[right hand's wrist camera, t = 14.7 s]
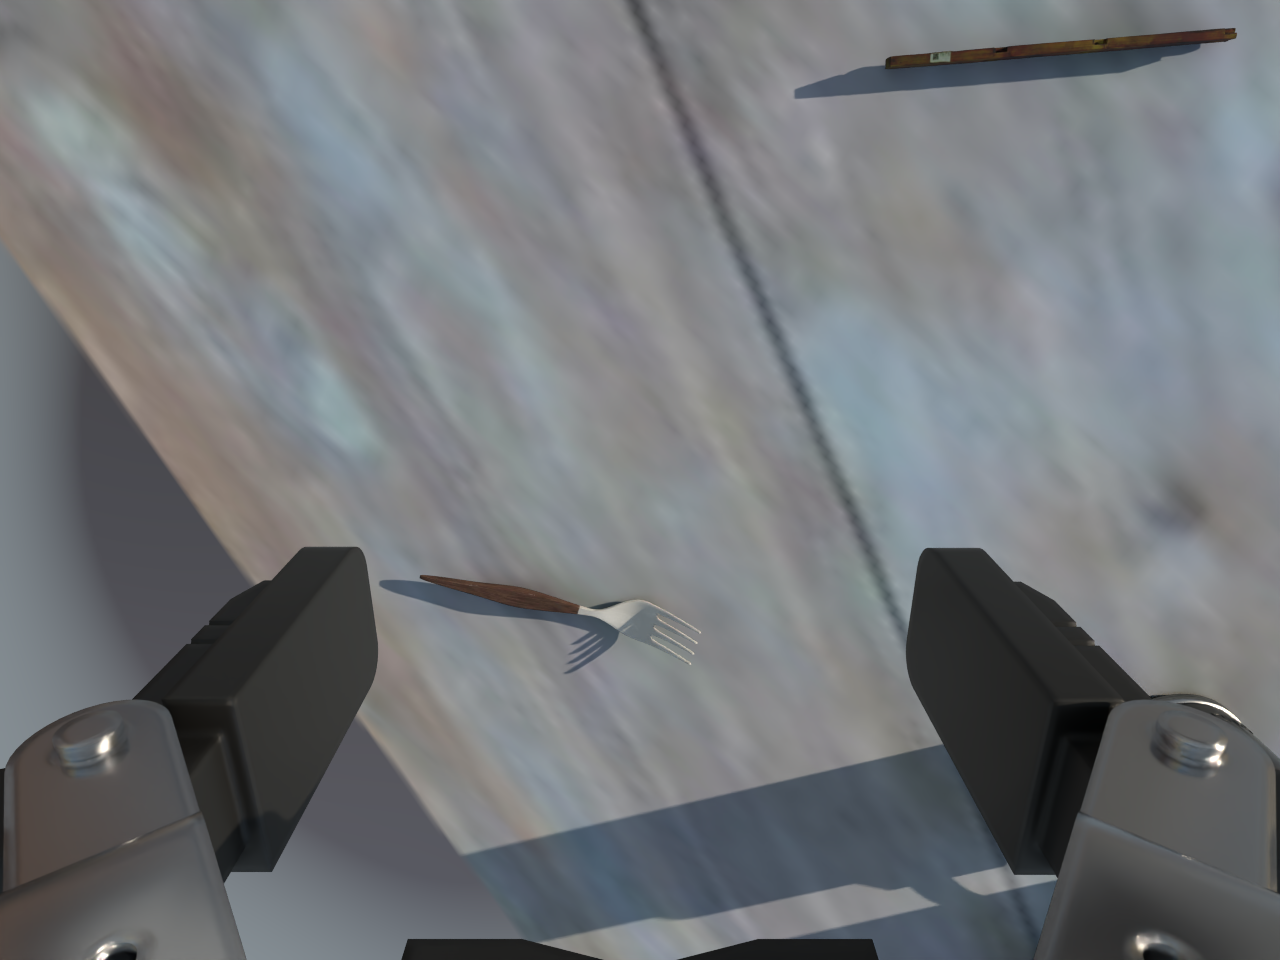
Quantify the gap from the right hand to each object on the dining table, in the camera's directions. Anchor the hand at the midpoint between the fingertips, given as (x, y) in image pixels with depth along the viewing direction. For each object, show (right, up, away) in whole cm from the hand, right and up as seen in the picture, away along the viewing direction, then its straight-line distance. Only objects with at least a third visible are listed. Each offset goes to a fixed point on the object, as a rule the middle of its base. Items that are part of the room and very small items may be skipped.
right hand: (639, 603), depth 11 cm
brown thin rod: (+18, +21, +23) cm, 36 cm away
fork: (-5, -5, +33) cm, 34 cm away
